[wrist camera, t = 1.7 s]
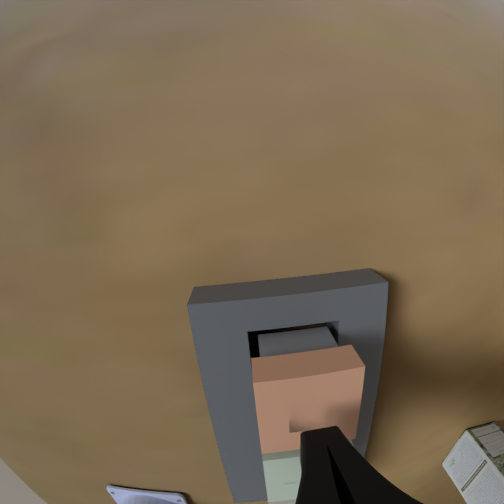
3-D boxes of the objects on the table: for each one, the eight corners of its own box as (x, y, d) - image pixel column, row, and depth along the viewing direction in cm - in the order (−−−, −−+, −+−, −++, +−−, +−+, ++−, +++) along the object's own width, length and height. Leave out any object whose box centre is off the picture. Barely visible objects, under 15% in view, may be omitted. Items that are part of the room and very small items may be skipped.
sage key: (328, 439, 18) (344, 489, 13) (263, 448, 18) (268, 502, 13) (331, 392, 17) (353, 446, 12) (257, 402, 17) (262, 460, 12)
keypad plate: (349, 464, 21) (356, 485, 19) (234, 480, 21) (234, 502, 19) (370, 268, 17) (388, 281, 15) (194, 287, 17) (187, 304, 14)
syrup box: (439, 464, 23) (491, 554, 9) (465, 427, 22) (534, 519, 7) (471, 454, 23) (524, 531, 9) (496, 418, 22) (561, 495, 8)
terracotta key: (332, 384, 17) (355, 438, 12) (256, 394, 16) (261, 453, 12) (334, 318, 16) (365, 366, 11) (249, 328, 15) (252, 382, 11)
